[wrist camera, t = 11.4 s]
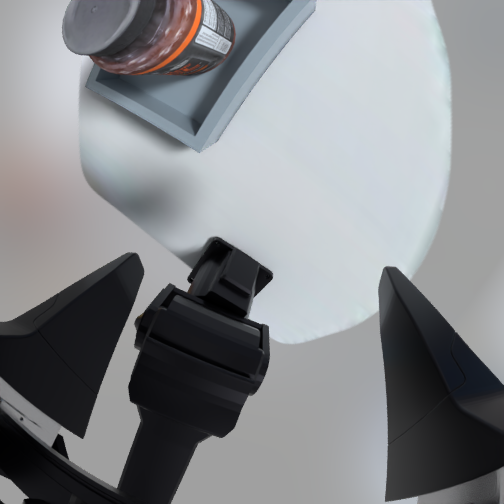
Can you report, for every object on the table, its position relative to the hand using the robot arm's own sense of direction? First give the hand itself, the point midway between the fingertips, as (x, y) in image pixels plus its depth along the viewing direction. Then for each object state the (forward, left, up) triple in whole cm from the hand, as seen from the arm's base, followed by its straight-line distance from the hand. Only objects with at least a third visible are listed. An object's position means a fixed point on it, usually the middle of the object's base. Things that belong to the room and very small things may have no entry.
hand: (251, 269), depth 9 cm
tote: (+5, +11, -13) cm, 18 cm away
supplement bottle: (+5, +11, -12) cm, 17 cm away
